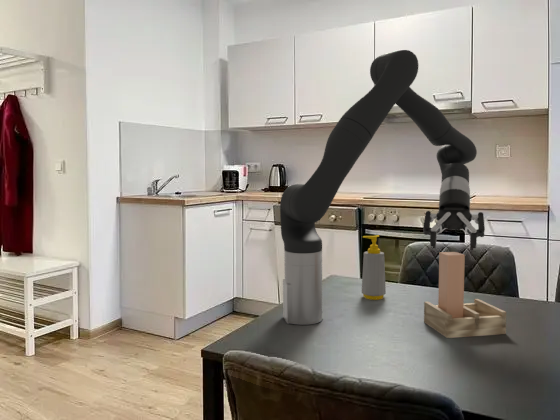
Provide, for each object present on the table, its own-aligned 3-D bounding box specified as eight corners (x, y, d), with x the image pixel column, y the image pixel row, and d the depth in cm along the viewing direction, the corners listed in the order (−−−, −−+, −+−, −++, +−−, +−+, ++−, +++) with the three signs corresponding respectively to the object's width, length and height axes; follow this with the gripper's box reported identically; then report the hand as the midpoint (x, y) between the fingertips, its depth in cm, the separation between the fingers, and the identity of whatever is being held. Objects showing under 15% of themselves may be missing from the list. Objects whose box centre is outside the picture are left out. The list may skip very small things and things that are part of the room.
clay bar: (446, 325, 107) (448, 255, 106) (438, 319, 111) (439, 252, 110) (462, 324, 108) (464, 254, 107) (453, 319, 112) (455, 251, 110)
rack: (447, 338, 104) (447, 315, 103) (423, 322, 114) (424, 301, 114) (505, 333, 106) (506, 311, 105) (477, 318, 117) (478, 298, 116)
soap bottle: (356, 295, 139) (357, 234, 138) (378, 293, 141) (378, 233, 140) (368, 301, 133) (368, 237, 131) (390, 299, 135) (391, 236, 133)
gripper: (425, 187, 125) (421, 237, 115) (484, 188, 120) (485, 239, 110) (426, 206, 130) (422, 254, 120) (483, 207, 125) (484, 258, 115)
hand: (452, 247), depth 115 cm, fingers open, 8 cm apart
